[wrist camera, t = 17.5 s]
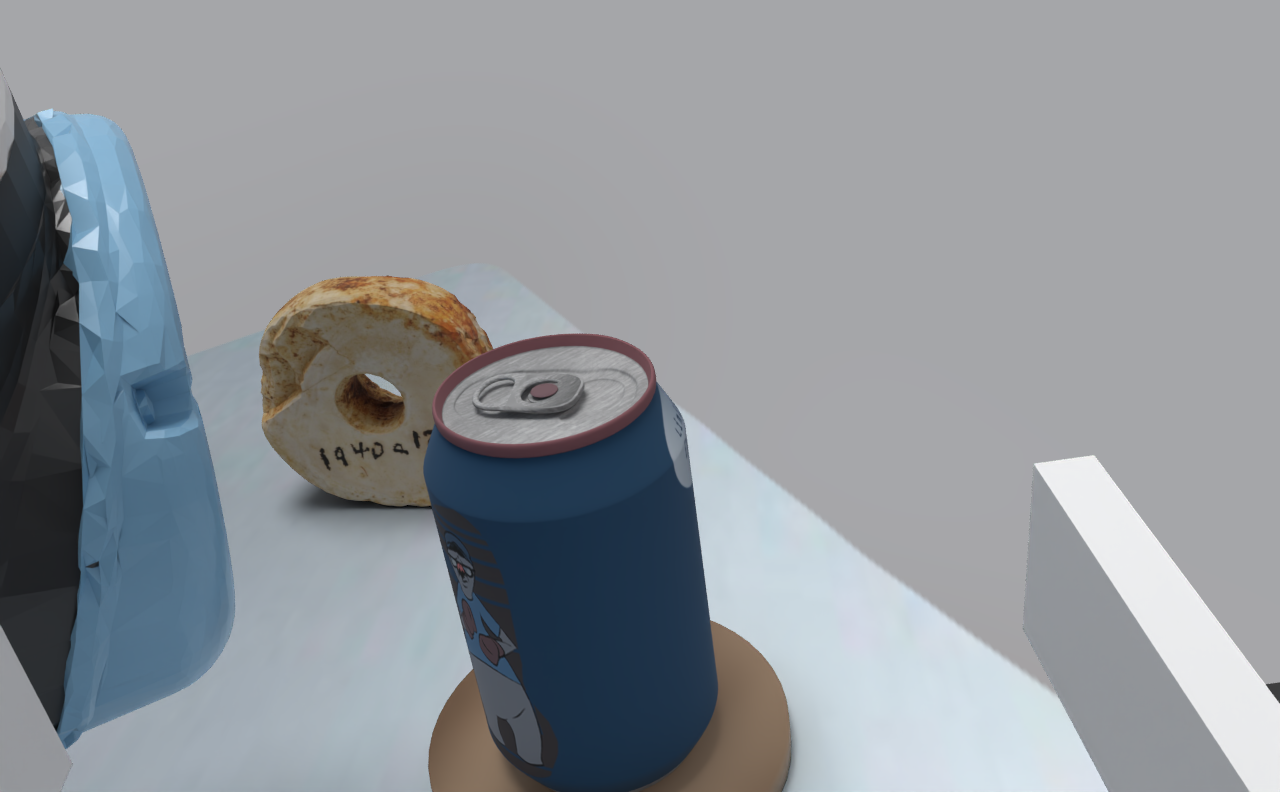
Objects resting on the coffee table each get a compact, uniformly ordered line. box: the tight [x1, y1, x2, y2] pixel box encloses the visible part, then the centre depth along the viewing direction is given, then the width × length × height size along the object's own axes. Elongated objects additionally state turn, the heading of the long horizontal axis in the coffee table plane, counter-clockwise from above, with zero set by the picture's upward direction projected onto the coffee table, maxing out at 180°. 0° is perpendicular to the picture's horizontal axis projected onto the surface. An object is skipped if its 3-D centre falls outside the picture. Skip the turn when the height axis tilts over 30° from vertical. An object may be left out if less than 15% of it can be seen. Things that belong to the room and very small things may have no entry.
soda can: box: [423, 334, 718, 792], centre depth 33 cm, size 7×7×12 cm
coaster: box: [428, 620, 791, 792], centre depth 36 cm, size 11×11×1 cm
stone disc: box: [259, 276, 493, 507], centre depth 48 cm, size 10×4×10 cm, turn 79°
